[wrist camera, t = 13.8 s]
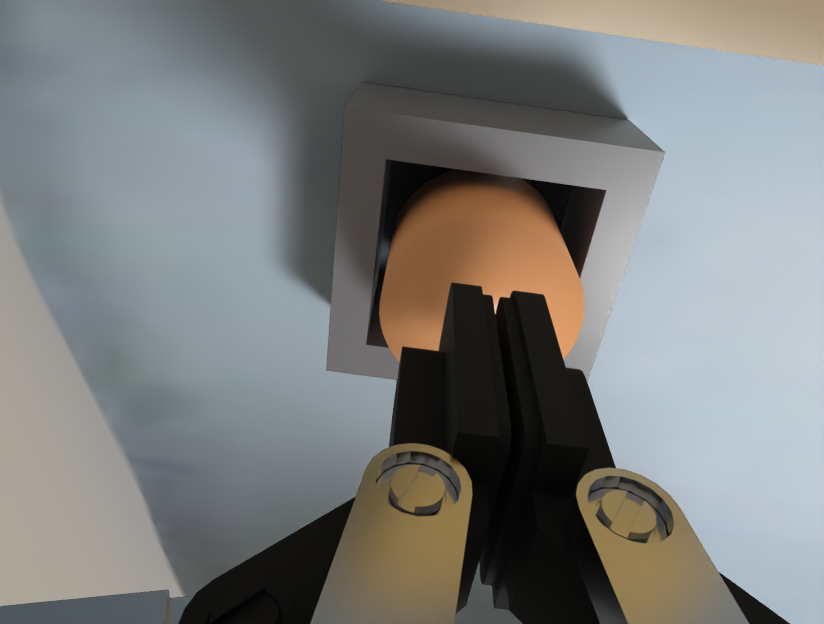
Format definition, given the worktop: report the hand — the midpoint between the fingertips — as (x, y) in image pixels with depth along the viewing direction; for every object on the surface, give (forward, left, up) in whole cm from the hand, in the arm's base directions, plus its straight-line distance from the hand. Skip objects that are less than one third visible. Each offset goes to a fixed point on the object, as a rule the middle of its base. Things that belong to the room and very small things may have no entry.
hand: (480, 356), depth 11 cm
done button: (0, 0, -5) cm, 6 cm away
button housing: (0, 0, -7) cm, 7 cm away
